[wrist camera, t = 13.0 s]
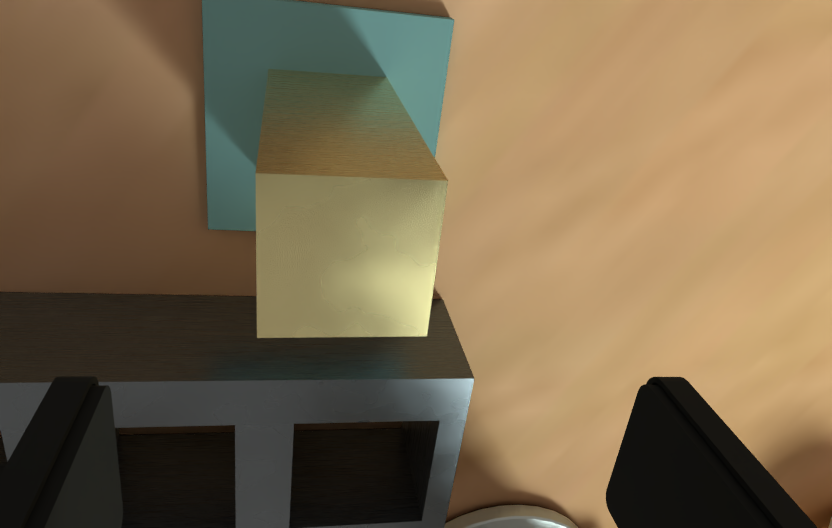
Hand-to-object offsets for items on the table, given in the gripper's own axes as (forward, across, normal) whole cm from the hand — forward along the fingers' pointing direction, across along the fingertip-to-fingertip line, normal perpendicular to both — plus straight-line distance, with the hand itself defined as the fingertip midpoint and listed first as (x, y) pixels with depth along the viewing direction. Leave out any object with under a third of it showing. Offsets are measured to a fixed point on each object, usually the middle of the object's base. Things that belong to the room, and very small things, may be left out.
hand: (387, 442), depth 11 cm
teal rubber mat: (+17, +1, -1) cm, 17 cm away
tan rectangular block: (+16, +1, -1) cm, 16 cm away
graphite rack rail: (+17, +7, +12) cm, 22 cm away
